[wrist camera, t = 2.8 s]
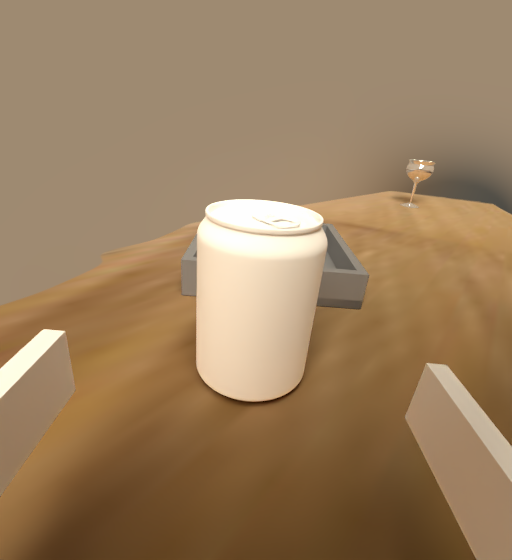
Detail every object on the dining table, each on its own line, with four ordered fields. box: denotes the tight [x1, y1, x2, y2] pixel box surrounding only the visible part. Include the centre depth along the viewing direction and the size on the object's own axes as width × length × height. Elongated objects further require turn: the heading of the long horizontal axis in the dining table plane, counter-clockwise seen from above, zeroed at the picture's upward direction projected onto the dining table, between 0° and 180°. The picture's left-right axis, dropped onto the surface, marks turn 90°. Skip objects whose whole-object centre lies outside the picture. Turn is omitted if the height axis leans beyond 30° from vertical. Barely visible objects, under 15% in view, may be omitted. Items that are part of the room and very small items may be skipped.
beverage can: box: [196, 200, 328, 402], centre depth 22 cm, size 8×8×12 cm
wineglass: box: [400, 159, 436, 208], centre depth 89 cm, size 7×7×12 cm
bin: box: [181, 223, 369, 309], centre depth 42 cm, size 19×19×4 cm
